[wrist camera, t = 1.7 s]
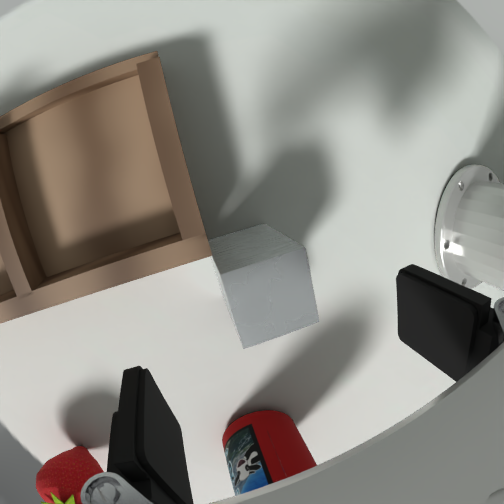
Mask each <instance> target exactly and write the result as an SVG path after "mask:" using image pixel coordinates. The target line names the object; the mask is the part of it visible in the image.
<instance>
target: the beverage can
mask: <svg viewBox="0 0 504 504" xmlns="http://www.w3.org/2000/svg"><path fill="white" fill-rule="evenodd" d="M222 442H223V447H224V452H225V456H226V461H227V465H228V469H229V473H230V477H231V481H232V485H233V489H234V492H235V496H237V495H240V494H243V493H246V492H249V491H252V490H255V489H258V488H261V487H264V486H267V485H269V484H272V483H275V482H278V481H280V480H283V479H286V478H288V477H291V476H293V475H296V474H298V473H301V472H303V471H306V470H308V469H310V468H313V467H315V466H317V464H316V463H315V461H314V459H313V457H312V455H311V453H310V451H309V450H308V448H307V446H306V444H305V442H304V440H303V438H302V437H301V435H300V433H299V431H298V429H297V427H296V425H295V424H294V422H293V420H292V419H291V418H290V417H289V416H288V415H286V414H285V413H282V412H279V411H273V410H264V411H257V412H253V413H249V414H247V415H244V416H242V417H240V418H238V419H237V420H235V421H234V422H233V423H232V424H230V425H229V426H228V428H227V429H226V430H225V432H224V434H223V439H222Z"/></svg>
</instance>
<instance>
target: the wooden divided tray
mask: <svg viewBox="0 0 504 504" xmlns="http://www.w3.org/2000/svg"><path fill="white" fill-rule="evenodd" d="M209 256H212V253H211V249H210V246H209V243H208V239H207V236H206V232H205V229H204V226H203V222H202V219H201V215H200V212H199V208H198V205H197V201H196V198H195V194H194V190H193V187H192V183H191V180H190V176H189V172H188V169H187V165H186V161H185V158H184V154H183V150H182V146H181V143H180V139H179V135H178V131H177V127H176V123H175V119H174V115H173V111H172V107H171V103H170V99H169V95H168V91H167V87H166V83H165V79H164V74H163V70H162V66H161V62H160V57H158V52H157V51H155V52H151V53H148V54H144V55H141V56H138V57H134V58H131V59H128V60H125V61H122V62H119V63H116V64H113V65H110V66H107V67H104V68H102V69H99V70H96V71H94V72H91V73H89V74H86V75H84V76H81V77H79V78H76V79H74V80H72V81H69V82H67V83H65V84H62V85H60V86H58V87H56V88H54V89H51V90H49V91H47V92H45V93H43V94H41V95H39V96H37V97H35V98H33V99H31V100H29V101H27V102H26V103H24V104H22V105H20V106H18V107H16V108H15V109H13V110H11V111H9V112H8V113H6V114H4V115H2V116H1V117H0V323H3V322H6V321H9V320H12V319H15V318H19V317H22V316H25V315H28V314H31V313H34V312H37V311H40V310H43V309H46V308H49V307H52V306H55V305H58V304H61V303H64V302H68V301H71V300H74V299H77V298H80V297H83V296H86V295H89V294H92V293H95V292H99V291H102V290H105V289H108V288H111V287H114V286H117V285H120V284H124V283H127V282H130V281H133V280H136V279H139V278H142V277H146V276H149V275H152V274H155V273H158V272H161V271H165V270H168V269H171V268H174V267H177V266H180V265H184V264H187V263H190V262H193V261H196V260H200V259H203V258H206V257H209Z"/></svg>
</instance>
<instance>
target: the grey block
mask: <svg viewBox="0 0 504 504" xmlns="http://www.w3.org/2000/svg"><path fill="white" fill-rule="evenodd" d="M208 243H209V246H210V249H211V253H212V256H211V260H212V263H213V266H214V269H215V273H216V276H217V279H218V282H219V286H220V289H221V292H222V295H223V298H224V301H225V303H226V306H227V308H228V311H229V313H230V316H231V319H232V321H233V324H234V326H235V329H236V331H237V334H238V336H239V339H240V341H241V344H242V346H243V349H245V348H248V347H251V346H254V345H257V344H260V343H263V342H265V341H268V340H271V339H274V338H277V337H280V336H282V335H285V334H288V333H291V332H293V331H296V330H299V329H301V328H304V327H307V326H309V325H312V324H314V323H317V322H319V317H318V312H317V306H316V300H315V295H314V290H313V284H312V279H311V274H310V268H309V263H308V258H307V253H306V248H305V247H304V246H302V245H301V244H299V243H297V242H295V241H294V240H292V239H290V238H289V237H287V236H285V235H284V234H282V233H280V232H279V231H277V230H275V229H273V228H272V227H270V226H268V225H267V224H265V223H263V224H260V225H257V226H253V227H250V228H247V229H243V230H240V231H237V232H233V233H230V234H227V235H223V236H220V237H217V238H214V239H210V240H208Z"/></svg>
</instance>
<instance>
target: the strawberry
mask: <svg viewBox="0 0 504 504" xmlns="http://www.w3.org/2000/svg"><path fill="white" fill-rule="evenodd" d="M102 472H104V471H103V470H102V468H101V467H100V465H99V464H98V462H97V461H96V460H95V459H94V458H93V456H92V455H91V454H90V453H89V451H88V450H87V449H86V448H85V447H82V446H77V447H74V448H73V449H71V450H68V451H65V452H63V453H61V454H59V455H57V456H55V457H53V458H51V459H50V460H48V461H47V462H46V463H45V464H44V465H43V467H42V468H41V469H40V471H39V472H38V473H37V476H36V489H37V491H38V493H39V494H40V496H41V497H42V498H43V499H44V501H46V502H47V503H46V502H41V503H43V504H82V502H81V496H80V495H81V490H82V488H83V486H84V484H85V483H86V482H87V481H88V479H89V478H91V477H93V476H94V475H96V474H99V473H102Z"/></svg>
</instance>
